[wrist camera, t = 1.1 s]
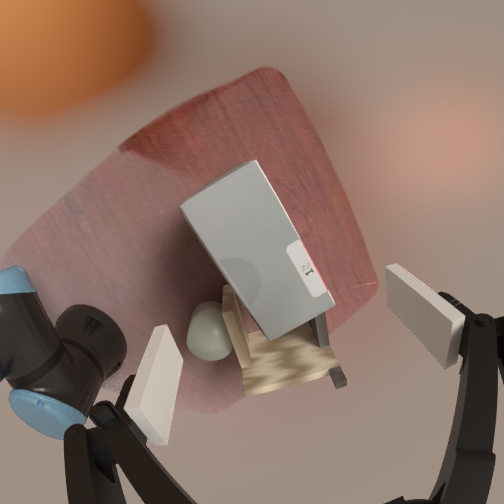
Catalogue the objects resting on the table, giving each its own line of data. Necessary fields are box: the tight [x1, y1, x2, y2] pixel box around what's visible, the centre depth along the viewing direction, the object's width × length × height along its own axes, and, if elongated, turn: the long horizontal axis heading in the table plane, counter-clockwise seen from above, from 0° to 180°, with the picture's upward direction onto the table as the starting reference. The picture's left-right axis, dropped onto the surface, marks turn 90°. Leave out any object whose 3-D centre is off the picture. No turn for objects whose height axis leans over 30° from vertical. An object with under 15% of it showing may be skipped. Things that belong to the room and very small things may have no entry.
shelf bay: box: [222, 284, 347, 397], centre depth 40 cm, size 14×11×17 cm
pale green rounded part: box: [187, 301, 233, 361], centre depth 45 cm, size 7×7×7 cm
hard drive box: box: [179, 160, 335, 341], centre depth 34 cm, size 16×8×20 cm, turn 30°
